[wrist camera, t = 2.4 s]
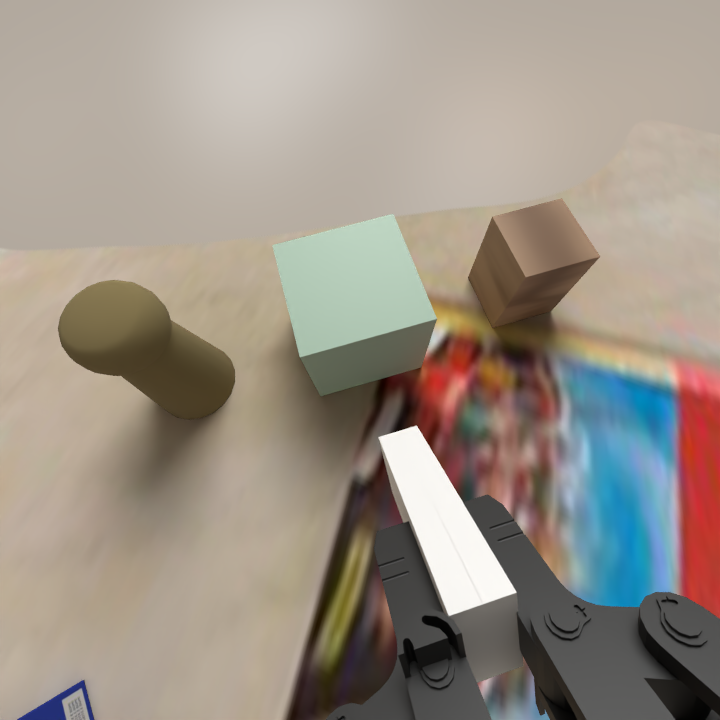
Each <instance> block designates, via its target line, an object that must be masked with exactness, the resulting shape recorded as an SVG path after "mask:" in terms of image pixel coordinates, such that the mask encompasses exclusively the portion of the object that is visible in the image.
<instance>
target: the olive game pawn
mask: <svg viewBox="0 0 720 720" xmlns="http://www.w3.org/2000/svg"><path fill="white" fill-rule="evenodd" d="M58 331H59V337H60V341H61V344H62V347H63V348H64V350H65V351H66V353H67V354H68V355H69V357H70V358H71V359H73V360H74V361H75V362H76V363H78V364H79V365H81V366H83V367H84V368H86V369H88V370H90V371H93V372H95V373H100V374H106V375H113V376H122V377H123V378H124V379H126V380H127V381H128V382H130V383H131V384H132V385H134V386H135V387H136V388H137V389H139V390H140V391H141V392H143V393H144V394H145V395H147V396H148V397H149V398H150V399H152V400H153V401H154V402H156V403H157V404H158V405H160V406H161V407H162V408H164V409H165V410H166V411H167V412H169V413H171V414H172V415H174V416H176V417H178V418H183V419H189V420H190V419H197V418H202V417H205V416H207V415H209V414H211V413H213V412H215V411H216V410H217V409H218V408H219V407H221V406H222V405H223V404H224V403H225V401H226V400H227V398H228V397H229V395H230V394H231V392H232V389H233V386H234V383H235V369H234V367H233V364H232V361H231V360H230V358H229V357H228V356H227V355H226V354H225V353H224V352H223V351H221V350H219V349H218V348H216V347H214V346H213V345H211V344H209V343H208V342H206V341H204V340H203V339H201V338H200V337H198V336H196V335H195V334H193V333H191V332H190V331H188V330H186V329H185V328H183V327H181V326H180V325H178V324H176V323H175V322H173V321H171V319H170V316H169V313H168V311H167V309H166V307H165V305H164V304H163V303H162V302H161V301H160V300H159V299H158V297H157V296H156V295H155V294H154V293H153V292H151V291H149V290H147V289H145V288H143V287H142V286H140V285H137V284H135V283H133V282H126V281H118V280H110V281H103V282H99V283H96V284H94V285H91V286H89V287H87V288H85V289H84V290H82V291H81V292H79V293H78V294H76V295H75V296H74V297H73V299H72V300H71V301H70V302H69V303H68V304H67V305H66V307H65V309H64V311H63V313H62V314H61V316H60V321H59V326H58Z"/></svg>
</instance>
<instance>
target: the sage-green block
mask: <svg viewBox="0 0 720 720" xmlns="http://www.w3.org/2000/svg"><path fill="white" fill-rule="evenodd" d="M273 249H274V254H275V258H276V262H277V266H278V270H279V274H280V278H281V282H282V286H283V291H284V295H285V299H286V303H287V307H288V311H289V315H290V319H291V323H292V327H293V332H294V336H295V340H296V344H297V348H298V352H299V356H300V359H301V361H302V362H303V364H304V366H305V368H306V370H307V372H308V374H309V376H310V378H311V379H312V381H313V383H314V385H315V387H316V389H317V391H318V393H319V394H320V396H324V395H327V394H331V393H334V392H338V391H341V390H345V389H348V388H352V387H355V386H359V385H362V384H365V383H369V382H372V381H376V380H379V379H383V378H386V377H390V376H393V375H397V374H400V373H404V372H407V371H411V370H414V369H417V368H421V366H422V363H423V360H424V357H425V354H426V351H427V348H428V345H429V342H430V339H431V336H432V332H433V329H434V326H435V323H436V320H437V318H436V316H435V313H434V311H433V308H432V306H431V304H430V301H429V299H428V296H427V294H426V292H425V289H424V287H423V284H422V282H421V280H420V277H419V275H418V272H417V270H416V268H415V265H414V263H413V260H412V258H411V256H410V253H409V251H408V248H407V246H406V243H405V241H404V239H403V236H402V234H401V231H400V229H399V227H398V224H397V222H396V219H395V217H394V215H393V214H391V215H387V216H383V217H379V218H375V219H371V220H368V221H364V222H360V223H356V224H352V225H348V226H344V227H341V228H337V229H333V230H329V231H325V232H321V233H318V234H314V235H310V236H306V237H302V238H298V239H294V240H291V241H287V242H283V243H279V244H275V245H273Z"/></svg>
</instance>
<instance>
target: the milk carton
mask: <svg viewBox="0 0 720 720" xmlns="http://www.w3.org/2000/svg"><path fill="white" fill-rule="evenodd" d="M17 720H94V718H93V714H92V710H91V706H90V702H89V698H88V694H87V690H86V687H85V683H84V681H81V682H79V683H77V684H76V685H74V686H72V687H71V688H69V689H67V690H66V691H64V692H62V693H61V694H59V695H57V696H56V697H54V698H52V699H51V700H49V701H47V702H46V703H44V704H42V705H41V706H39V707H37V708H36V709H34V710H32V711H31V712H29V713H27V714H26V715H24V716H22V717H21V718H19V719H17Z"/></svg>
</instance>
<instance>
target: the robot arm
mask: <svg viewBox="0 0 720 720" xmlns="http://www.w3.org/2000/svg"><path fill="white" fill-rule="evenodd" d="M378 438H379V442H380V446H381V450H382V453H383V457H384V461H385V465H386V469H387V473H388V477H389V481H390V485H391V489H392V493H393V495H394V498H395V501H396V503H397V506H398V509H399V512H400V514H401V517H402V520H403V523H401V524H398V525H395V526H392V527H389V528H386V529H383V530H380V531H377V535H376V540H375V546H374V550H375V554H376V558H377V562H378V566H379V570H380V574H381V578H382V582H383V586H384V590H385V594H386V598H387V602H388V606H389V610H390V614H391V618H392V622H393V626H394V630H395V634H396V638H397V649H398V654H397V661H396V665H395V668H394V671H393V673H392V674H391V676H390V678H389V680H388V681H387V682H386V683H385V684H384V686H383V687H382V688H381V689H380V690H379V691H378V692H376V693H375V694H374V695H373V696H372V697H371V698H370V699H368V700H367V701H366V702H365V703H364V704H363V705H359V704H354V703H350V704H346V705H343V706H340V707H338V708H337V709H336V710H335V711H334V712H332V713H331V714H330V715H329V716H328V717H327V719H326V720H491V717H490V715H489V712H488V710H487V707H486V705H485V702H484V700H483V697H482V695H481V692H480V690H479V687H478V685H477V683H478V682H480V681H483V680H486V679H489V678H491V677H494V676H497V675H500V674H502V673H505V672H508V671H511V670H513V669H516V668H519V667H522V666H523V658H522V655H523V657H524V659H525V661H526V663H527V664H528V666H529V668H530V670H531V672H532V674H533V676H534V682H535V697H536V704H537V707H538V710H539V713H540V715H543V714H545V710H546V712H547V714H548V716H549V718H550V720H720V619H719V618H717V617H716V616H715V615H713V614H712V613H710V612H709V611H708V610H706V609H705V608H704V607H702V606H700V605H699V604H697V603H695V602H693V601H692V600H690V599H688V598H686V597H683V596H680V595H677V594H673V593H670V592H655V593H653V594H650V595H648V596H646V597H645V598H644V600H643V601H642V603H641V604H640V607H611V606H601V605H595V604H592V603H589V602H586V601H584V600H582V599H580V598H578V597H576V596H575V595H573V594H572V593H571V592H569V591H568V590H567V589H566V588H565V587H564V586H563V585H562V584H561V583H560V582H559V580H558V579H557V578H556V576H555V575H554V574H553V572H552V571H551V569H550V568H549V567H548V565H547V564H546V563H545V561H544V560H543V559H542V557H541V556H540V554H539V553H538V552H537V550H536V549H535V548H534V546H533V545H532V544H531V542H530V541H529V539H528V538H527V537H526V535H524V534H523V531H522V530H521V529H520V527H519V526H518V525H517V523H516V522H514V519H513V518H512V516H511V515H510V514H509V512H508V511H507V510H506V508H505V507H504V505H503V504H501V503H500V502H498V501H497V500H495V499H494V498H492V497H491V496H489V495H485V496H482V497H478V498H475V499H472V500H469V501H466V502H462V500H461V499H460V497H459V495H458V494H457V492H456V490H455V489H454V487H453V485H452V484H451V482H450V480H449V479H448V477H447V475H446V474H445V472H444V470H443V469H442V467H441V465H440V464H439V462H438V460H437V459H436V457H435V455H434V454H433V452H432V450H431V449H430V447H429V445H428V444H427V442H426V440H425V439H424V437H423V435H422V434H421V432H420V430H419V429H418V427H417V426H414V427H410V428H407V429H404V430H400V431H397V432H394V433H391V434H387V435H384V436H381V437H378Z"/></svg>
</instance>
